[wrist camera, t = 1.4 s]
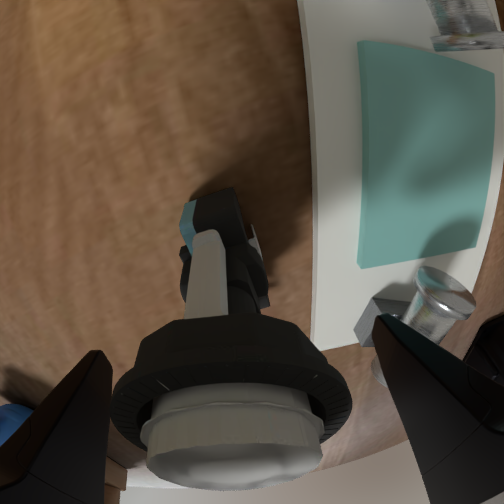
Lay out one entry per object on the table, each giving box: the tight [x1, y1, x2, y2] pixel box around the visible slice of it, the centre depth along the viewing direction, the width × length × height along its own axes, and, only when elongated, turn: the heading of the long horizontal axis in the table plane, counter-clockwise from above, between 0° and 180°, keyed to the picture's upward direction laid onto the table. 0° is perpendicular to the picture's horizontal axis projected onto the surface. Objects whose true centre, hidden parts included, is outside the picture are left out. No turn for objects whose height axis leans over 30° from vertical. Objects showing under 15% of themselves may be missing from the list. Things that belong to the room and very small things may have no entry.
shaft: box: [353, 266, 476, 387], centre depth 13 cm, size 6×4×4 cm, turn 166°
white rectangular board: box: [297, 0, 504, 351], centre depth 11 cm, size 12×22×1 cm, turn 6°
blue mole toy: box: [0, 404, 33, 446], centre depth 17 cm, size 12×12×8 cm
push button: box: [109, 187, 352, 491], centre depth 9 cm, size 7×5×10 cm
